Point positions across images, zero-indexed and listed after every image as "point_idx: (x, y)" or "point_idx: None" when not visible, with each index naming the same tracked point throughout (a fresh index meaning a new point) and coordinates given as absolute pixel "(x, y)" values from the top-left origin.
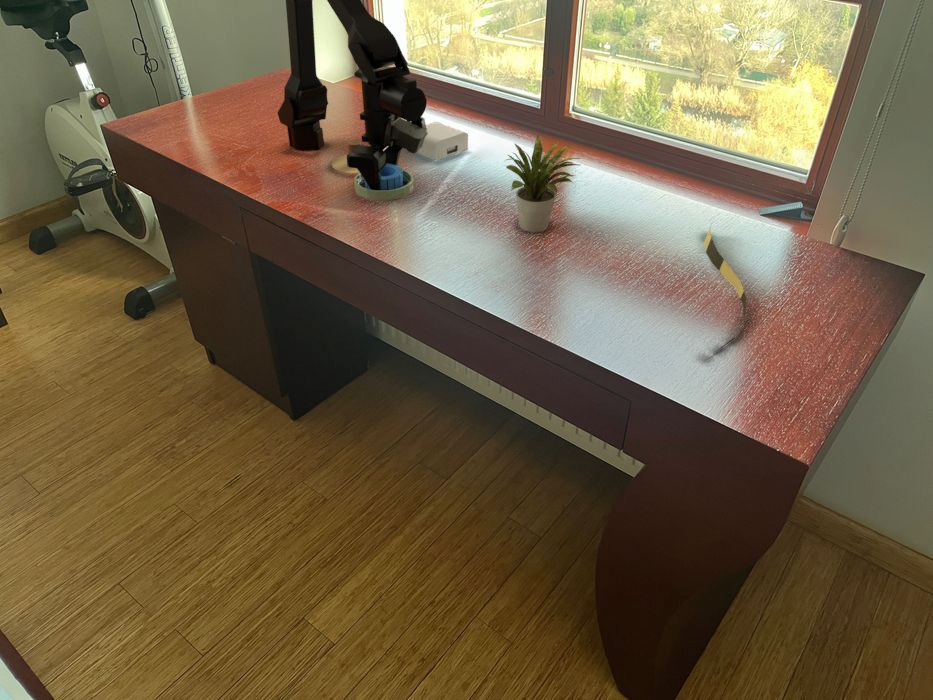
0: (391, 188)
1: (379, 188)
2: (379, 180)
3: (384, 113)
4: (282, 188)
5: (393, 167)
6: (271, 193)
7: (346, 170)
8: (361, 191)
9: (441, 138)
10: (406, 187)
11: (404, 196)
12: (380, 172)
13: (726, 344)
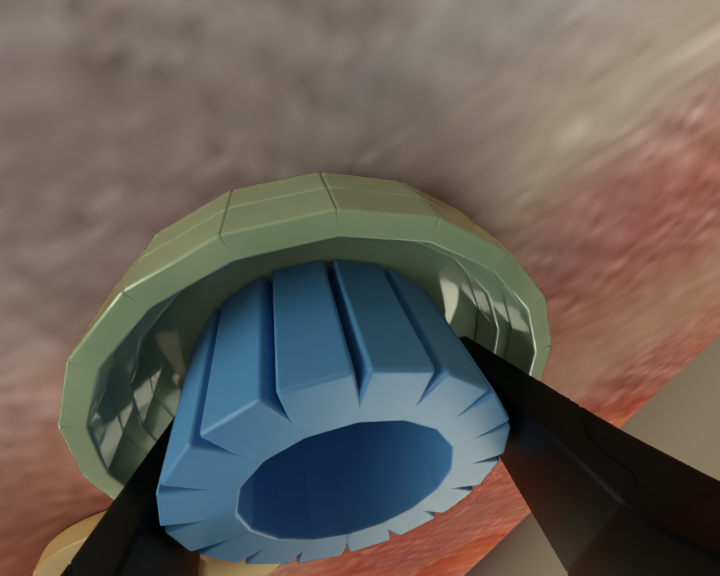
0: (426, 311)
1: (482, 361)
2: (557, 410)
3: None
4: (456, 528)
5: (225, 497)
6: (491, 521)
7: None
8: None
9: None
10: (391, 208)
11: (399, 183)
12: (627, 485)
13: None
